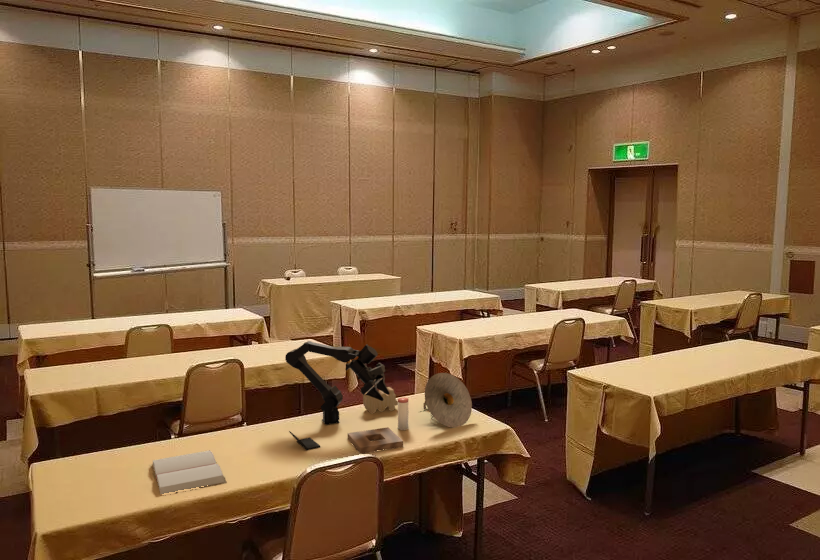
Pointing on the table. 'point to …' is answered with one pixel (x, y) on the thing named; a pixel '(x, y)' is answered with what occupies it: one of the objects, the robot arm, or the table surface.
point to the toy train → (374, 404)
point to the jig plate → (382, 436)
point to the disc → (448, 400)
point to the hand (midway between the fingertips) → (386, 397)
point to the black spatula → (306, 443)
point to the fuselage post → (402, 413)
